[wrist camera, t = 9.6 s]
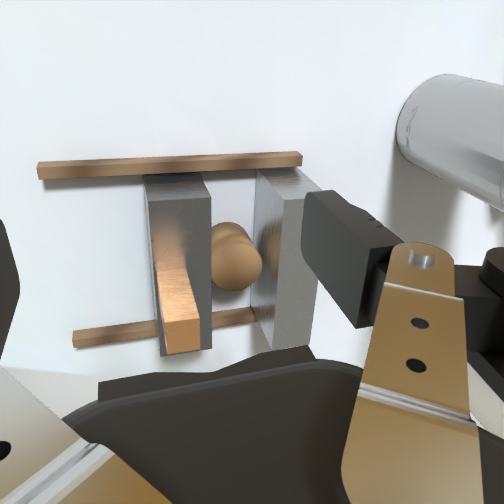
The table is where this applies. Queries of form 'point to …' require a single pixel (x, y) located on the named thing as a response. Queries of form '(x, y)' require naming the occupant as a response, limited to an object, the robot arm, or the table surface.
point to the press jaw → (180, 260)
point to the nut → (233, 257)
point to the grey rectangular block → (282, 258)
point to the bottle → (485, 404)
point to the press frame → (154, 167)
